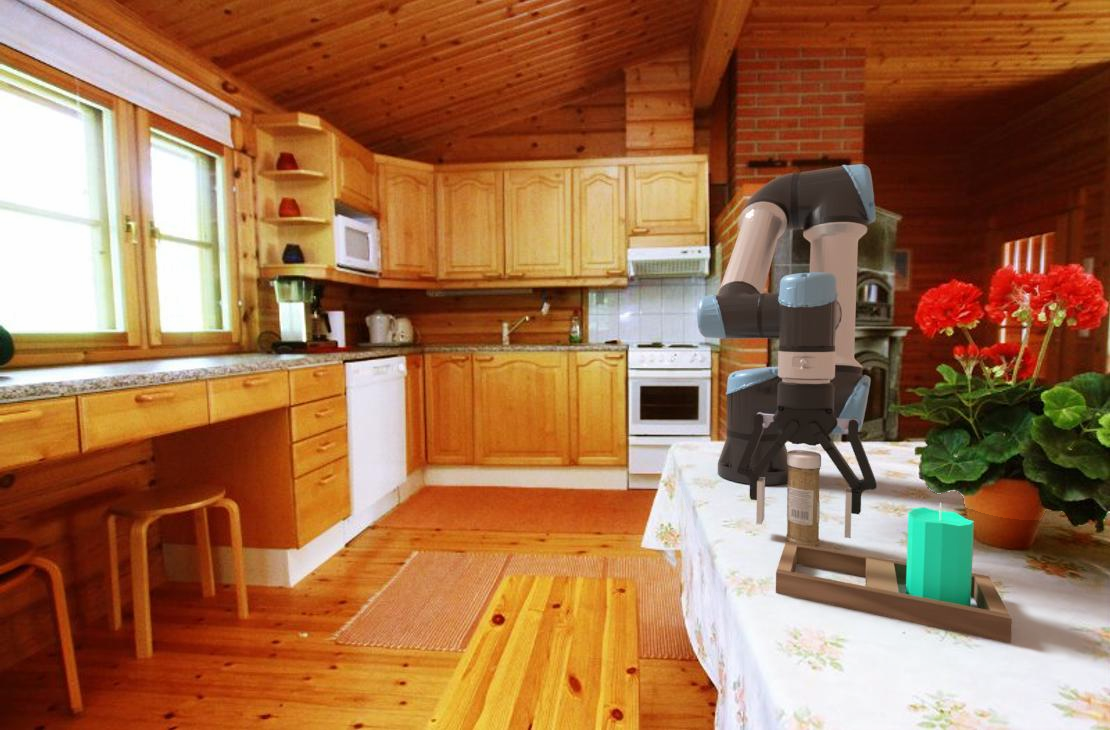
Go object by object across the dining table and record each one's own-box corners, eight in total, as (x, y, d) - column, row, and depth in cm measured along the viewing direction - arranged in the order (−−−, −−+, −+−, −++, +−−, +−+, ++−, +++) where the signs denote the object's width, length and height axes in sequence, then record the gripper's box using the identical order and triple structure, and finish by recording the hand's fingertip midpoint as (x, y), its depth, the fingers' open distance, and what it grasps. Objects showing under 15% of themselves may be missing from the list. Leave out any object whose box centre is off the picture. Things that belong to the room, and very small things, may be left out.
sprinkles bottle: (825, 543, 79) (827, 453, 78) (807, 550, 77) (809, 457, 76) (796, 533, 83) (798, 447, 82) (779, 540, 80) (780, 451, 79)
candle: (973, 626, 57) (978, 515, 56) (906, 610, 60) (909, 506, 59) (966, 601, 62) (971, 499, 61) (904, 588, 65) (908, 491, 64)
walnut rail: (785, 559, 74) (785, 541, 74) (988, 596, 63) (989, 576, 63) (775, 592, 65) (776, 572, 64) (1010, 642, 54) (1011, 618, 54)
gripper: (717, 379, 81) (716, 522, 82) (903, 386, 69) (898, 552, 71) (727, 375, 87) (726, 507, 89) (899, 381, 76) (894, 533, 77)
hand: (802, 527), depth 80 cm, fingers open, 11 cm apart
